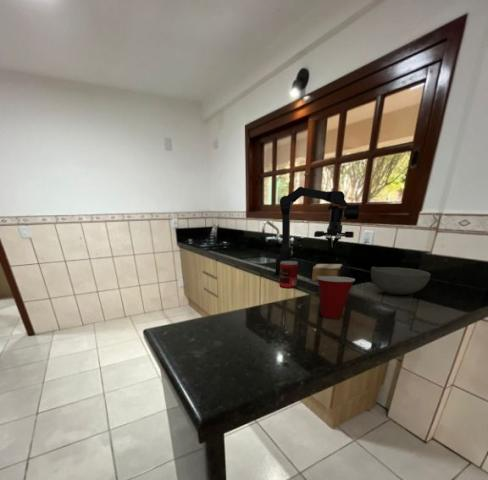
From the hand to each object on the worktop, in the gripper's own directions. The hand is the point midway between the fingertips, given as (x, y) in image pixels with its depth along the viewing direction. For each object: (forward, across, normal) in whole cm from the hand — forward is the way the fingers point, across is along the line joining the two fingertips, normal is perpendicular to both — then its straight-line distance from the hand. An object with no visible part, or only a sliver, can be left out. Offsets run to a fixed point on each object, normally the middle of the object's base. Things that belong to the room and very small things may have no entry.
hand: (331, 251), depth 136 cm
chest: (+13, 0, -8) cm, 15 cm away
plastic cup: (+13, +11, -66) cm, 68 cm away
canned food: (+13, -13, -34) cm, 38 cm away
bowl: (+13, +30, -28) cm, 43 cm away
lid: (+7, 0, -8) cm, 11 cm away
